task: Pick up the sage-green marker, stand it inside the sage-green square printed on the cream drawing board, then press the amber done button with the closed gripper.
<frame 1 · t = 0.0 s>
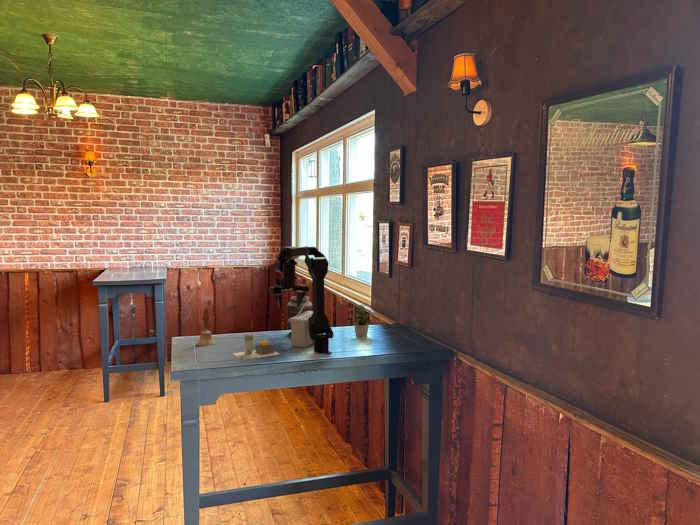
hand: (289, 307, 239), 15 cm above the table, tool pointing down, fingers open, 9 cm apart
done button: (264, 344, 214), point 4 cm above the table, slide at 0.0 cm
house plant: (359, 336, 248), on the table
sage marker: (248, 352, 213), point 1 cm above the table, touching drawing board
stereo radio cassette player: (307, 344, 232), on the table
button housing: (264, 352, 214), resting on drawing board
hand bell: (205, 344, 230), on the table
drawing board: (256, 355, 211), on the table
apothecary jar: (299, 334, 252), on the table
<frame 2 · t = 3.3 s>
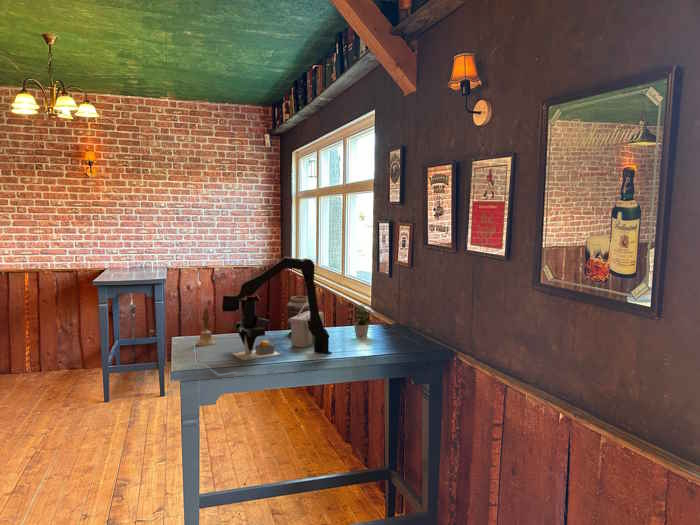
hand: (248, 349, 213), 2 cm above the table, tool pointing down, fingers closed on sage marker, 3 cm apart
sage marker: (248, 352, 213), point 1 cm above the table, touching drawing board, gripper
everything else where it was.
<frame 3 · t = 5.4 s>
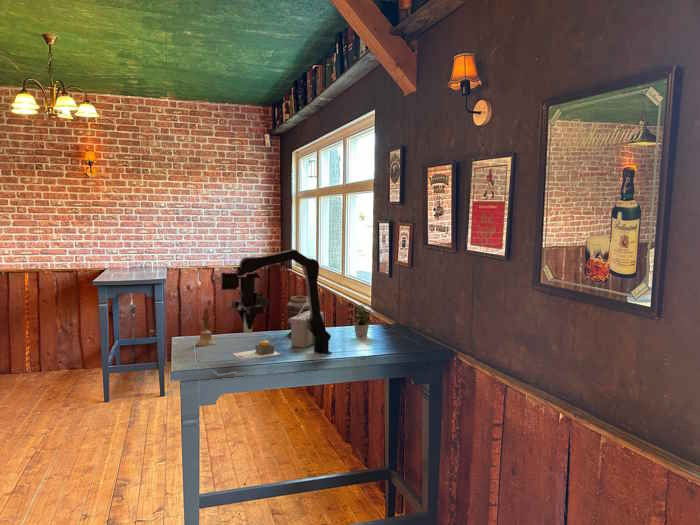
hand: (247, 328, 206), 12 cm above the table, tool pointing down, fingers closed on sage marker, 3 cm apart
sage marker: (247, 331, 206), point 11 cm above the table, touching gripper
everything else where it was.
when the fingers open (3 cm above the table, at t = 7.6 s): sage marker stays where it is, resting on drawing board.
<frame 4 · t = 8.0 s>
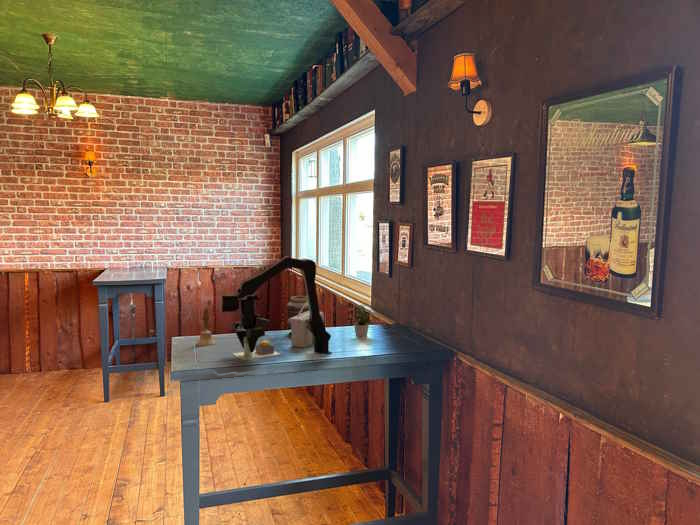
hand: (248, 350, 207), 3 cm above the table, tool pointing down, fingers open, 7 cm apart
sage marker: (248, 356, 207), point 1 cm above the table, touching drawing board
everything else where it was.
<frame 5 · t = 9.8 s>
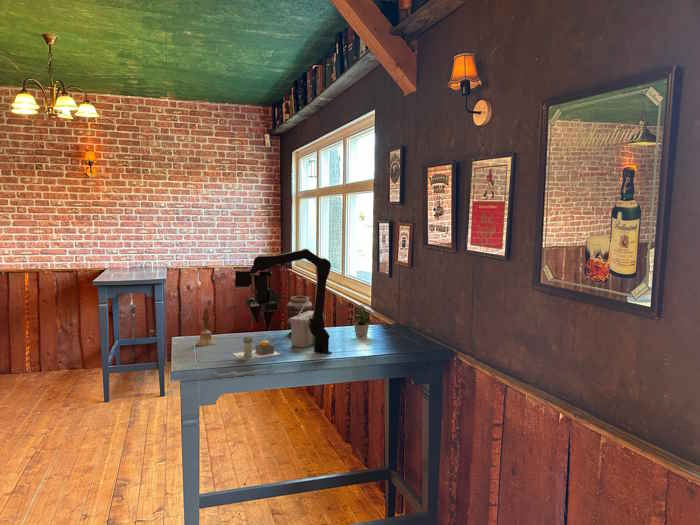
hand: (262, 324, 212), 12 cm above the table, tool pointing down, fingers open, 9 cm apart
nothing on the table moved.
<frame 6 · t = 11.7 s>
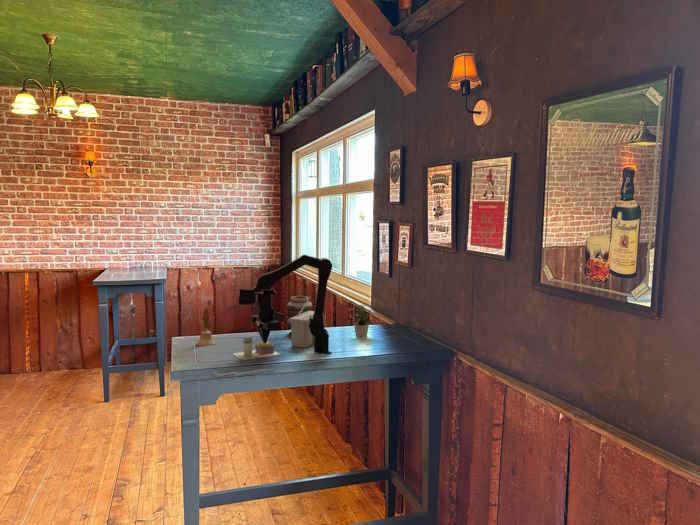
hand: (264, 342, 214), 5 cm above the table, tool pointing down, fingers closed, pressing on done button
done button: (264, 345, 214), point 4 cm above the table, slide at 0.5 cm, touching gripper
everything else where it was.
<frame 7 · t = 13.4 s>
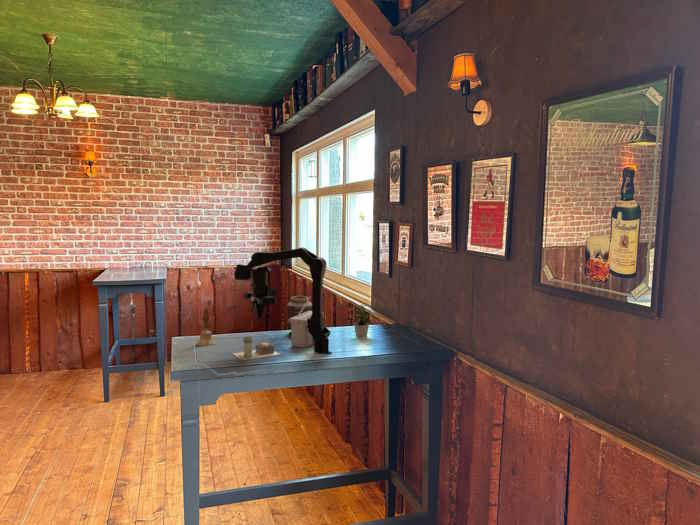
hand: (259, 318, 221), 13 cm above the table, tool pointing down, fingers closed
done button: (264, 346, 214), point 3 cm above the table, slide at 0.9 cm
everything else where it was.
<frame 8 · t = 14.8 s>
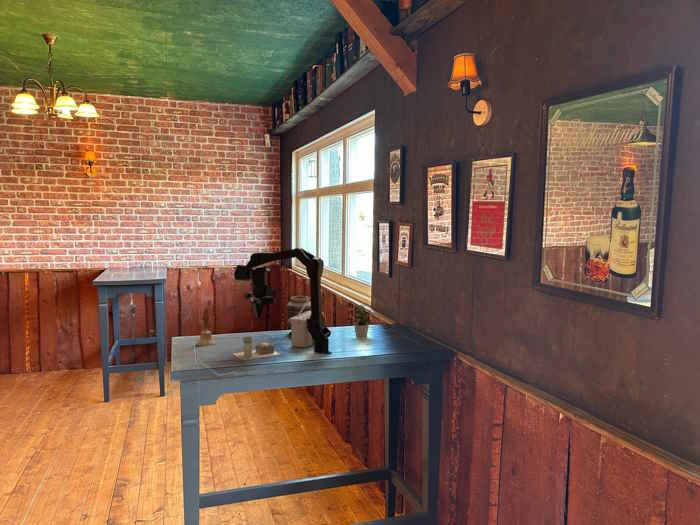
hand: (258, 317, 223), 13 cm above the table, tool pointing down, fingers closed
nothing on the table moved.
at the end: sage marker 0.0 cm from the target spot, point 1.0 cm above the table; sage marker tilted 2°; done button slide at 0.9 cm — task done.
